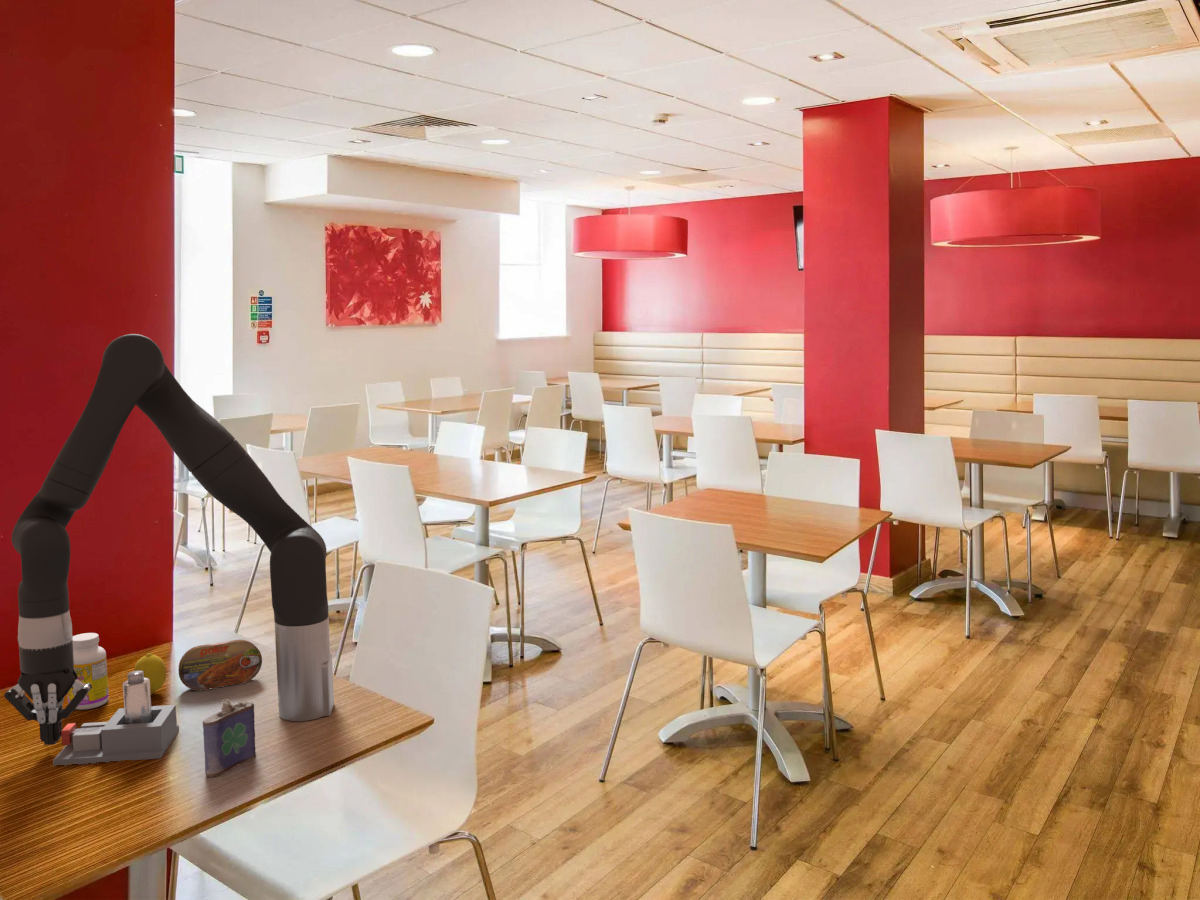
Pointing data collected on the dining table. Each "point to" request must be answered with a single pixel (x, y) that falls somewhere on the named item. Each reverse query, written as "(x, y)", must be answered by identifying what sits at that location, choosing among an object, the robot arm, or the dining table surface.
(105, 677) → the supplement bottle
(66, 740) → the lock pin
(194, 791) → the dining table surface
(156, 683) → the lemon
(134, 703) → the salt shaker
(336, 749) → the dining table surface
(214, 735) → the flask
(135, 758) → the mount
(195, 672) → the tin
